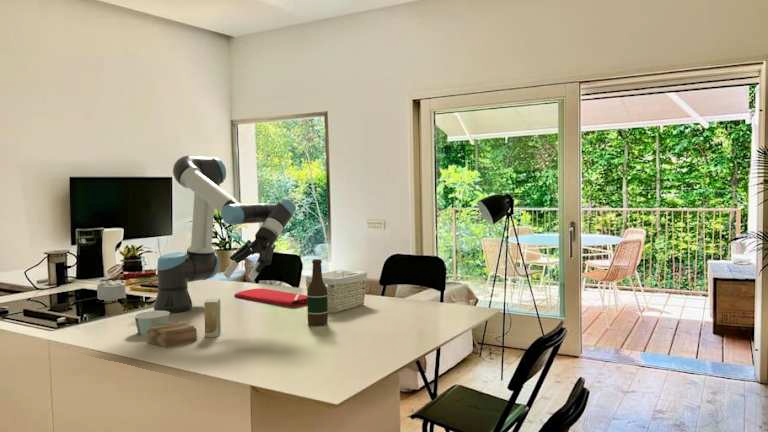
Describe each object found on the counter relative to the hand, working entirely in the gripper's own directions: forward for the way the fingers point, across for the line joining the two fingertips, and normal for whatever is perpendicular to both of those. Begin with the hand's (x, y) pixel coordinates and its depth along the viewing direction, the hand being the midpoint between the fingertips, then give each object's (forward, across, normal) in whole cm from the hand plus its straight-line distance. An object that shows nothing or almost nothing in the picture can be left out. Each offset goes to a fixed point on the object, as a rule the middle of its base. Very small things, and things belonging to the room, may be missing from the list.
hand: (237, 277), depth 207 cm
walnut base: (+30, +5, +4) cm, 30 cm away
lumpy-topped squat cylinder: (+11, +95, -14) cm, 96 cm away
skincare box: (+21, +1, -6) cm, 22 cm away
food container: (+28, +22, +2) cm, 35 cm away
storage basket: (-21, -3, -48) cm, 53 cm away
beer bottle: (-2, -17, -29) cm, 34 cm away
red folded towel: (-19, +32, -46) cm, 59 cm away
